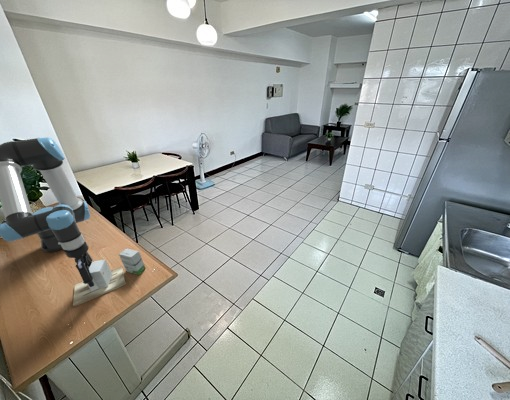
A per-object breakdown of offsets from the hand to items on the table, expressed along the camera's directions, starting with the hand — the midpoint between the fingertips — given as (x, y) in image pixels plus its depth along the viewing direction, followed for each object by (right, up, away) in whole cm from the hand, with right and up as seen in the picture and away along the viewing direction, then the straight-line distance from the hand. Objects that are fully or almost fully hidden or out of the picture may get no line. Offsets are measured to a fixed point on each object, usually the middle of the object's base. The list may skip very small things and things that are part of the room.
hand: (95, 282), depth 100 cm
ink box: (+13, +2, +10) cm, 17 cm away
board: (+1, -2, +2) cm, 3 cm away
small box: (+3, -1, +2) cm, 4 cm away
